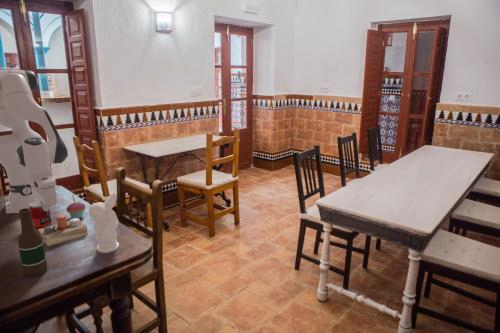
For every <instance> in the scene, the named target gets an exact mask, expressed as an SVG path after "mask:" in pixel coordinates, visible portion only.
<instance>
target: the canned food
mask: <svg viewBox="0 0 500 333" xmlns="http://www.w3.org/2000/svg"><path fill="white" fill-rule="evenodd" d="M29 209H30V210H31V213H30V214H31V217H32V221H33V225H34V227H35V229H42V228H44V227H46V226H49V225H52V222H53V221H52V216H51V215H52V214H51V210H50V208H49V210H48V211H44V210H43V209H42V205H41V203H40V200H39V201H34V202H32V203H30V204H29Z"/></svg>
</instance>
